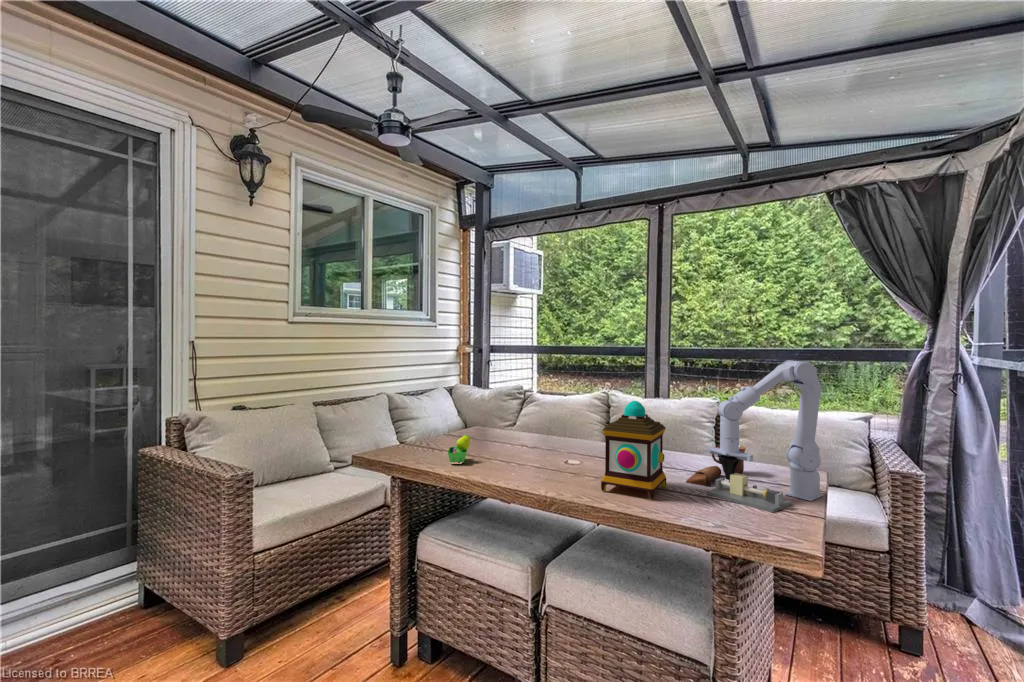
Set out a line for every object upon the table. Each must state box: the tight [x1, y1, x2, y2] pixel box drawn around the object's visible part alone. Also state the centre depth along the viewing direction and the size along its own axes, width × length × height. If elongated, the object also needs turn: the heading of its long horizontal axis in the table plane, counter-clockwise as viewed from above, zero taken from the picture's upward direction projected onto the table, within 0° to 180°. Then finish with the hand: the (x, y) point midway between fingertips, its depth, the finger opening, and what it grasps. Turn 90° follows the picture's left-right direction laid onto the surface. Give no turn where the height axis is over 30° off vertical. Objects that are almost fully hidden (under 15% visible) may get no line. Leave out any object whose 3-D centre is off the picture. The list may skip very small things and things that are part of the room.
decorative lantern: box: [600, 400, 667, 501], centre depth 162 cm, size 20×20×30 cm
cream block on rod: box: [730, 473, 749, 496], centre depth 155 cm, size 4×4×6 cm
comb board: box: [706, 477, 792, 514], centre depth 152 cm, size 21×12×4 cm, turn 37°
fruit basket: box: [447, 434, 471, 463], centre depth 197 cm, size 11×9×11 cm
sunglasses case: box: [685, 465, 722, 488], centre depth 175 cm, size 18×7×7 cm, turn 144°
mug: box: [711, 444, 747, 475], centre depth 184 cm, size 12×9×10 cm
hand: (729, 479), depth 157 cm, fingers closed
